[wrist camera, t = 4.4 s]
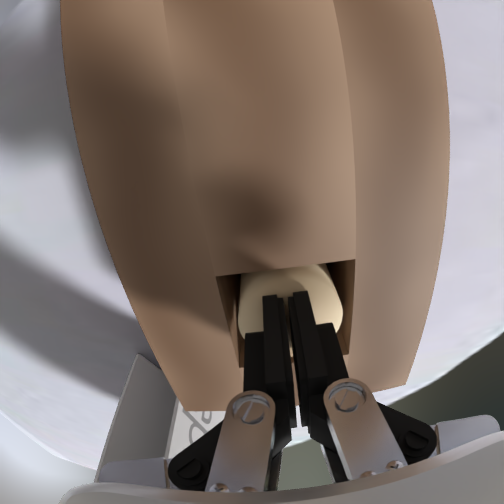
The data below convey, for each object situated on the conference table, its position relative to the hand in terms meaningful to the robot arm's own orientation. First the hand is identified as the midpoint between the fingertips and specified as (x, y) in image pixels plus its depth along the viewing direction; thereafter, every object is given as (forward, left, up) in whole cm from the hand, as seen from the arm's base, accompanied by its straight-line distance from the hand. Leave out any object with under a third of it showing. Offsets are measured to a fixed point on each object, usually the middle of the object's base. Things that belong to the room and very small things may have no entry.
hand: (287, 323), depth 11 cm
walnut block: (0, -7, -8) cm, 11 cm away
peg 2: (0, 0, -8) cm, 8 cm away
